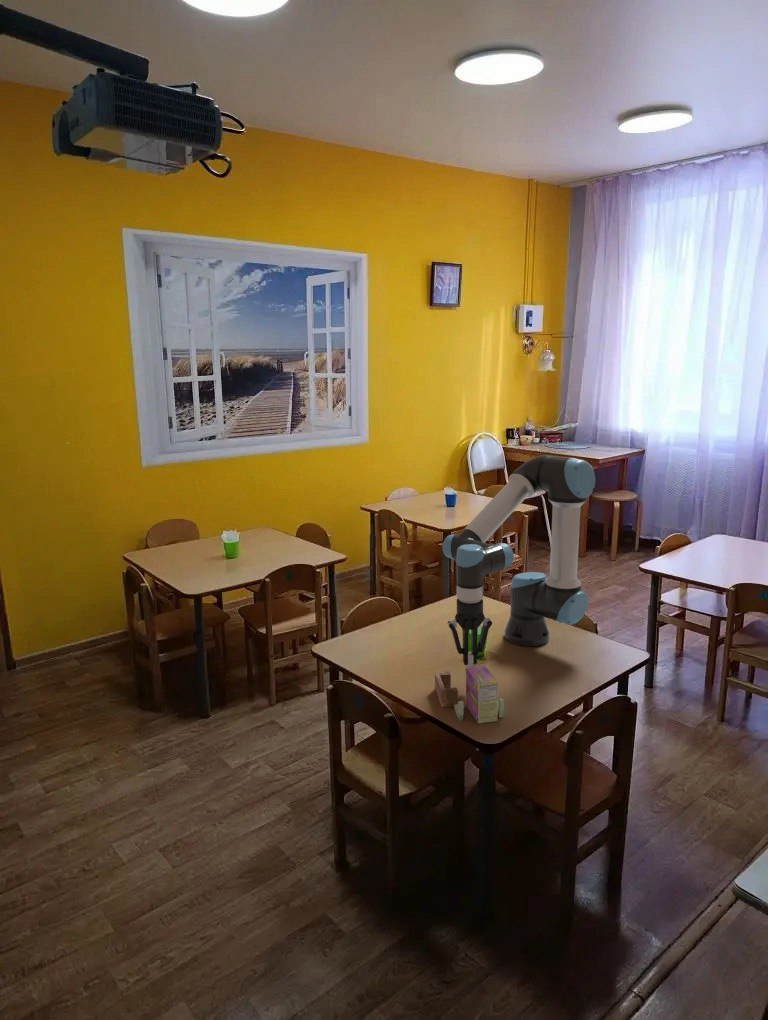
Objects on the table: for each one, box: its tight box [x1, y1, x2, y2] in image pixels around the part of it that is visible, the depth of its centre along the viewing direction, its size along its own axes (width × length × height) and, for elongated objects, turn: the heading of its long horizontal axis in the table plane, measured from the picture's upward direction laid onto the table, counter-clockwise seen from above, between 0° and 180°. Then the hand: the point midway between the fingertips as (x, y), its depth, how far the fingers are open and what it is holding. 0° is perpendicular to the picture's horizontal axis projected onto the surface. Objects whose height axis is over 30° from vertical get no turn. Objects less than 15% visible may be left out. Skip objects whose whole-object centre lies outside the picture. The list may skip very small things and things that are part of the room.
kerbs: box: [453, 698, 505, 721], centre depth 189 cm, size 12×6×5 cm, turn 96°
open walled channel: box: [434, 671, 459, 708], centre depth 199 cm, size 16×12×5 cm
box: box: [465, 665, 499, 724], centre depth 188 cm, size 10×6×12 cm, turn 12°
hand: (469, 674), depth 202 cm, fingers closed
